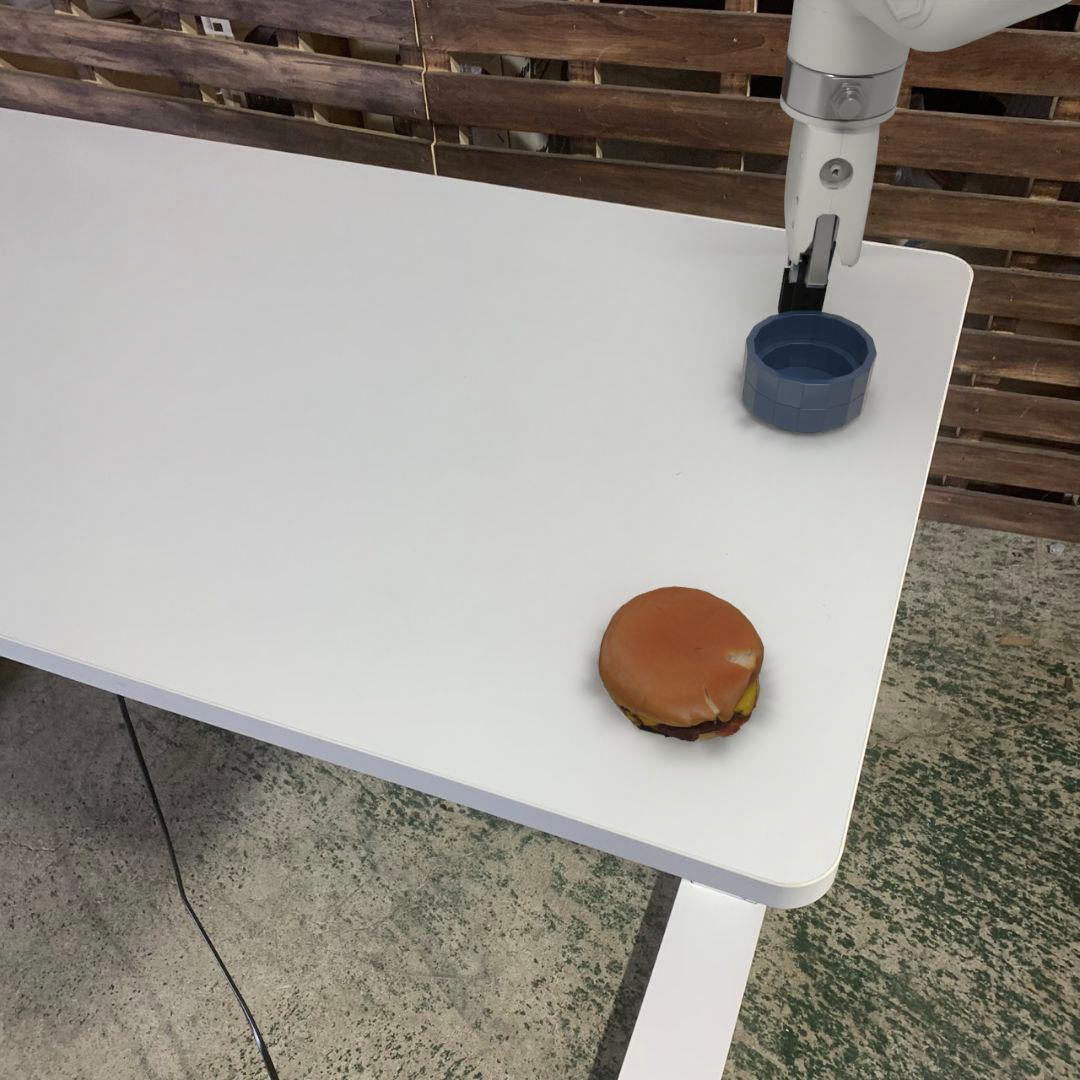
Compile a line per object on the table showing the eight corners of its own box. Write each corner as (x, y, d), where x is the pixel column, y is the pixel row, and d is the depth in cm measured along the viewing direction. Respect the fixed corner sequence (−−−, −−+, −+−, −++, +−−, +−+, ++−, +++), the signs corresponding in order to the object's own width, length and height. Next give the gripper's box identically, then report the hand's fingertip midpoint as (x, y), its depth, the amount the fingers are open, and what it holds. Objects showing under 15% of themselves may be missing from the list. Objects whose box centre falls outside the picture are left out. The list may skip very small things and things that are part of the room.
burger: (602, 615, 61) (602, 566, 58) (753, 620, 60) (761, 570, 57) (595, 753, 55) (594, 706, 51) (764, 761, 54) (774, 714, 50)
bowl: (854, 363, 77) (865, 309, 74) (871, 439, 71) (885, 384, 67) (737, 363, 78) (742, 310, 75) (744, 438, 72) (750, 384, 68)
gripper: (916, 135, 58) (855, 379, 72) (887, 36, 68) (838, 267, 81) (788, 134, 59) (751, 375, 72) (778, 36, 69) (748, 264, 82)
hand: (798, 317), depth 77 cm, fingers closed
